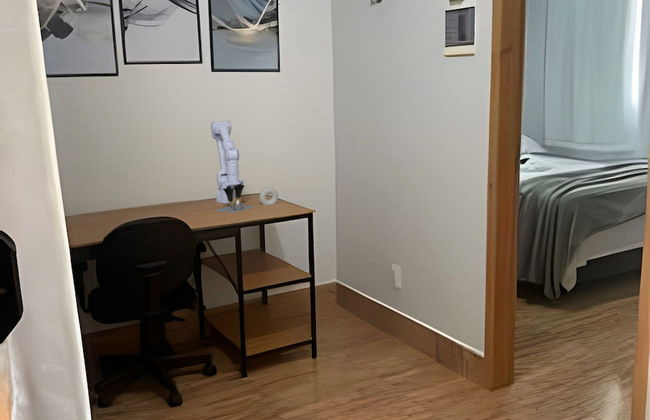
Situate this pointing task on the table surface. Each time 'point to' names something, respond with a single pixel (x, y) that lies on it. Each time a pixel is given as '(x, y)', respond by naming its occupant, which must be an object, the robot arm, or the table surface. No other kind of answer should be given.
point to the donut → (265, 192)
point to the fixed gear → (237, 206)
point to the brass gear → (235, 200)
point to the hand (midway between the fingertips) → (234, 200)
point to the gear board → (230, 209)
